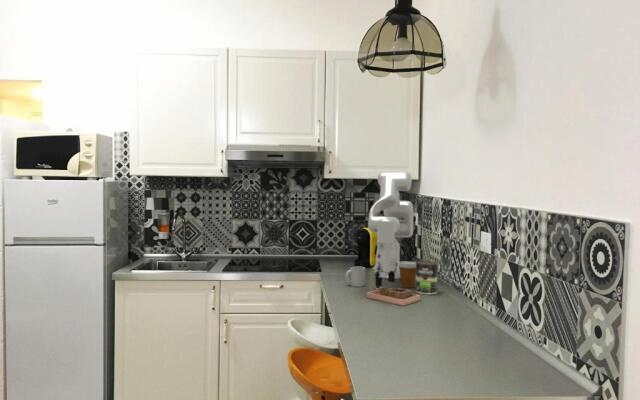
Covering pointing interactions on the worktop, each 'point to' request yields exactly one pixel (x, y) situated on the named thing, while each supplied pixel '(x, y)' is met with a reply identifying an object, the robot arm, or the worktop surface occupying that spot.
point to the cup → (356, 276)
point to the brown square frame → (395, 292)
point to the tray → (376, 296)
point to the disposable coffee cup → (407, 273)
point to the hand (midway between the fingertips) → (385, 283)
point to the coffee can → (426, 277)
